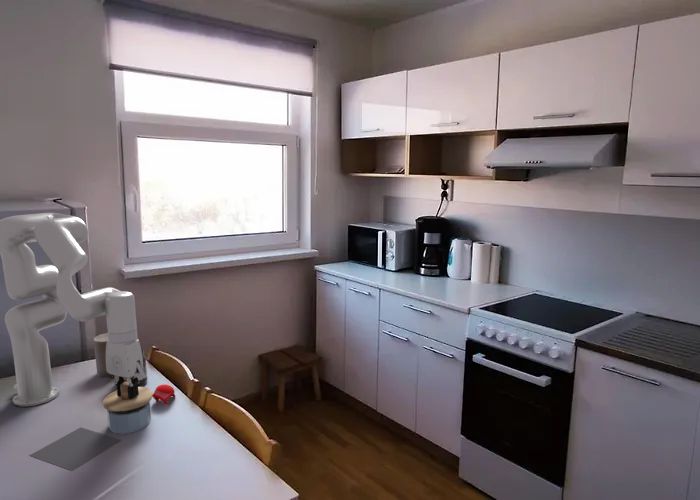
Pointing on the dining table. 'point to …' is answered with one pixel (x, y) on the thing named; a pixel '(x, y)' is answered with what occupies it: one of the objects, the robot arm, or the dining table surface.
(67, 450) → the mat
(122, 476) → the dining table surface
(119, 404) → the lid
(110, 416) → the bowl
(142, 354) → the supplement container
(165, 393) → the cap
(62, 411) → the dining table surface
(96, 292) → the robot arm
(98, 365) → the pillar candle
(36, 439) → the dining table surface
